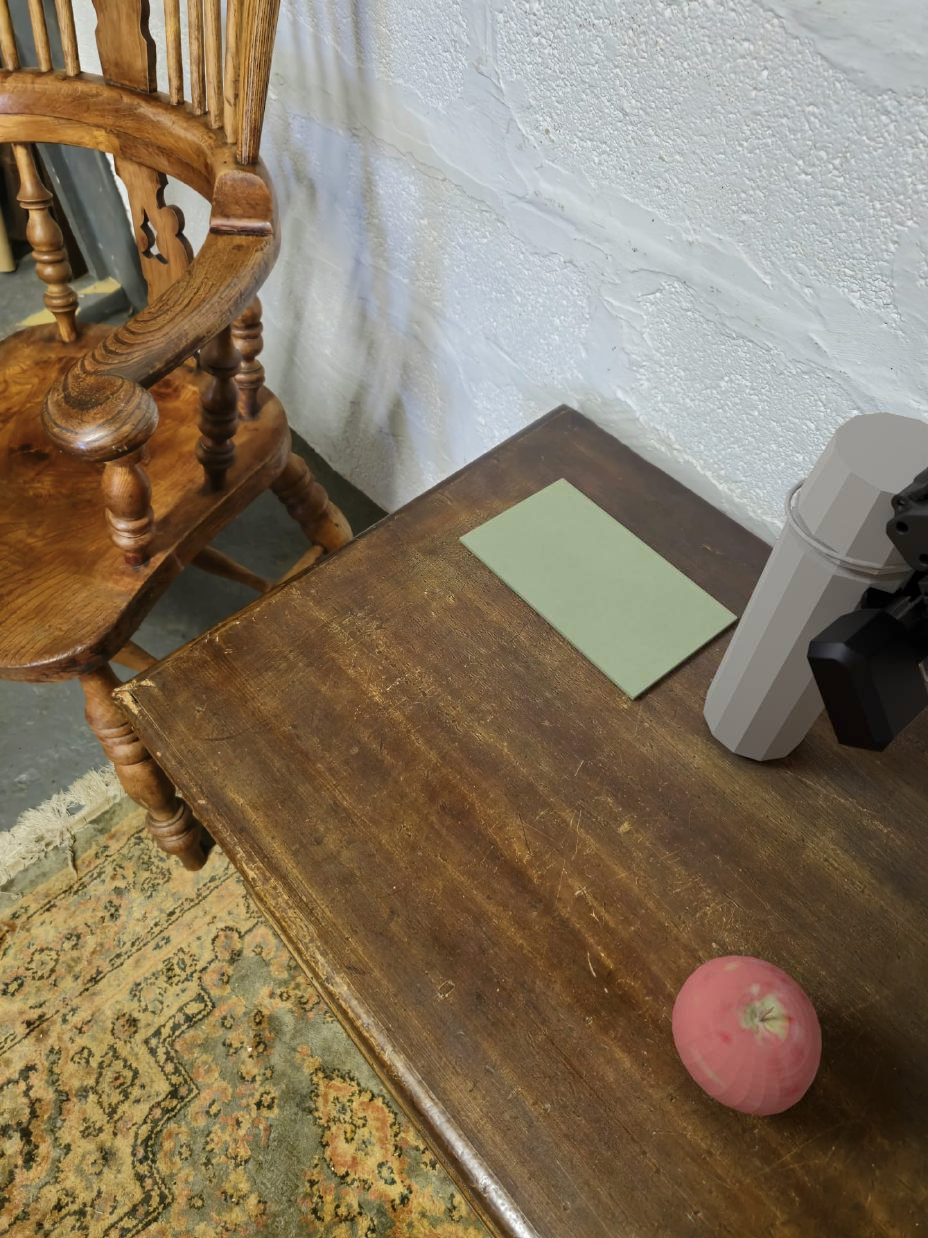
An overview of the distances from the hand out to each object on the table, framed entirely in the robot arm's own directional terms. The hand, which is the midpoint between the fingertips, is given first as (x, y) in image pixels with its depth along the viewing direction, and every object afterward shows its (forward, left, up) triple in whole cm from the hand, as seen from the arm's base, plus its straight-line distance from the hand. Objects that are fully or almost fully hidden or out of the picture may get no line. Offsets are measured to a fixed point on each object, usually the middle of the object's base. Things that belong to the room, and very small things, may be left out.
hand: (810, 608), depth 52 cm
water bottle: (0, 0, -12) cm, 12 cm away
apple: (-2, +23, -12) cm, 26 cm away
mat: (+14, -8, -12) cm, 20 cm away
